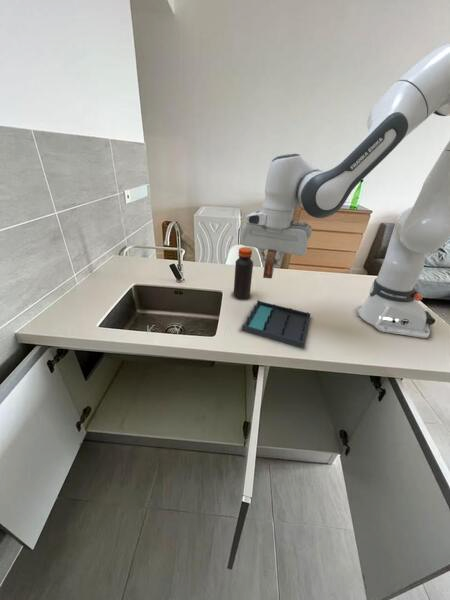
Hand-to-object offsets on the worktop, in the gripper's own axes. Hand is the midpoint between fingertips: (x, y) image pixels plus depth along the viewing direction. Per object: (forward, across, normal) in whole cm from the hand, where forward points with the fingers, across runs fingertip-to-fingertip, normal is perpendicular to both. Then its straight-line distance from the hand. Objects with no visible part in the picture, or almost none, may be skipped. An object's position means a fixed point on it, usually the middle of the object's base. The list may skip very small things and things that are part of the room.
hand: (270, 263), depth 78 cm
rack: (+21, -6, +2) cm, 22 cm away
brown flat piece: (+4, 0, 0) cm, 4 cm away
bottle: (+21, +12, -11) cm, 27 cm away
